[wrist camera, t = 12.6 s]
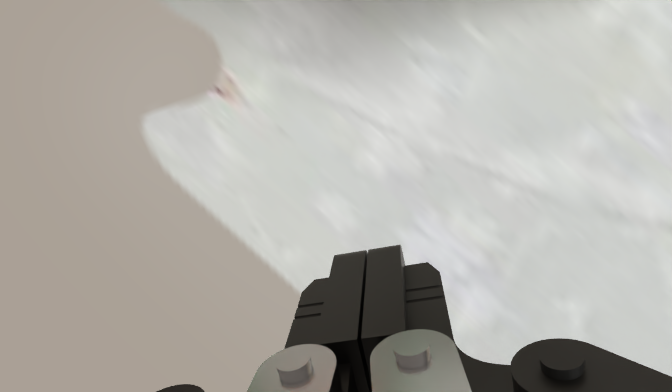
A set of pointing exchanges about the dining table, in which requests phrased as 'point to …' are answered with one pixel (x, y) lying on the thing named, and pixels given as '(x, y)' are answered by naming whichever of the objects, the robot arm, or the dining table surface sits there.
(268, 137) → the dining table surface
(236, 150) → the dining table surface
